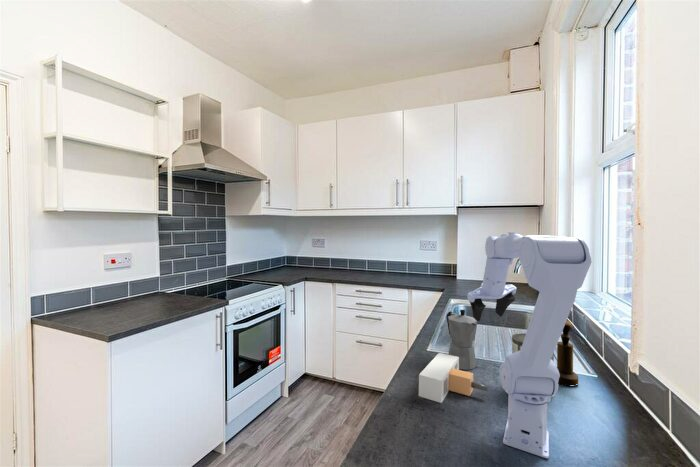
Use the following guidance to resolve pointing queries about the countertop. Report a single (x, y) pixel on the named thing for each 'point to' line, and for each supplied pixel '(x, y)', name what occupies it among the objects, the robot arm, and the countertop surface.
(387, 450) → the countertop surface
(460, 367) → the coffeepot
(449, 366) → the white rectangular block
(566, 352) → the wooden pepper mill
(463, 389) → the plug
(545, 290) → the robot arm
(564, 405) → the countertop surface
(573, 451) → the countertop surface
